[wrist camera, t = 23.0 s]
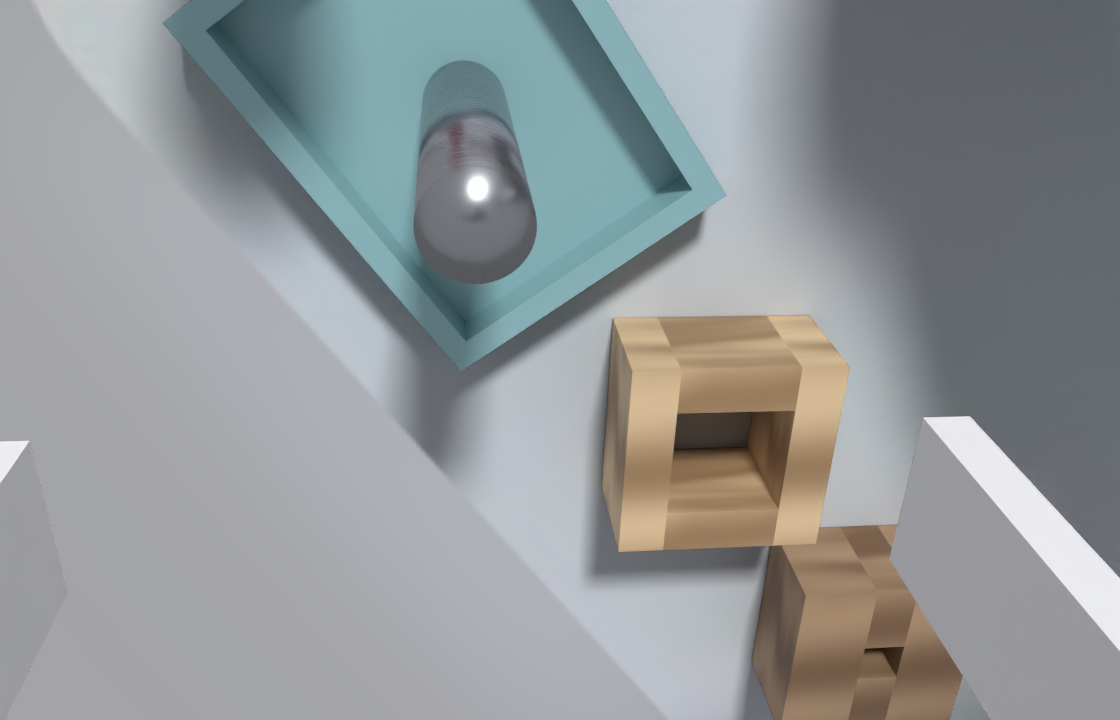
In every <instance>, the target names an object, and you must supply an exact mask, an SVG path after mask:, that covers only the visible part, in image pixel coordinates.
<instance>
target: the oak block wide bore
mask: <svg viewBox="0 0 1120 720" xmlns="http://www.w3.org/2000/svg"><path fill="white" fill-rule="evenodd" d="M849 370H850V366H849V365H848V364H847V363H846V361H845V360H844V359H843V357H842V356H841V355H840V354H839V352H838V351H837V350H836V349H835V347H834V346H833V345H832V343H831V342H830V341H829V340H828V338H827V337H826V336H825V334H824V333H823V332H822V331H821V329H820V328H819V327H818V326H817V324H816V323H815V322H814V320H813V319H812V318H811V317H810V315H801V316H730V317H658V318H613V327H612V342H611V357H610V372H609V387H608V403H607V418H606V433H605V448H604V464H603V479H602V489H603V493H604V497H605V501H606V505H607V509H608V513H609V516H610V520H611V524H612V528H613V532H614V536H615V540H616V544H617V548H618V552H629V551H654V550H678V549H703V548H727V547H752V546H777V545H801V544H816V541H817V536H818V531H819V525H820V520H821V515H822V510H823V505H824V499H825V494H826V489H827V484H828V479H829V474H830V468H831V463H832V458H833V453H834V448H835V442H836V437H837V432H838V427H839V422H840V417H841V411H842V406H843V401H844V396H845V391H846V386H847V380H848V375H849ZM721 412H753V414H752V420H751V427H750V434H749V441H748V448H714V449H680V450H674V440H675V431H676V421H677V414H681V413H721Z"/></svg>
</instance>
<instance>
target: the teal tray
mask: <svg viewBox="0 0 1120 720" xmlns="http://www.w3.org/2000/svg"><path fill="white" fill-rule="evenodd" d="M163 24H164V26H165V27H166V28H167V29H168V30H169V31H170V33H171V34H172V35H173V36H174V37H175V38H176V40H177V41H178V42H179V43H180V44H181V45H182V47H183V48H184V49H185V50H186V51H187V52H188V54H189V55H190V56H191V57H192V58H193V59H194V61H195V62H196V63H197V64H198V65H199V66H200V68H201V69H202V70H203V71H204V72H205V73H206V75H207V76H208V77H209V78H210V79H211V80H212V82H213V83H214V84H215V85H216V86H217V87H218V89H219V90H220V91H221V92H222V93H223V94H224V96H225V97H226V98H227V99H228V100H229V101H230V103H231V104H232V105H233V106H234V107H235V108H236V110H237V111H238V112H239V113H240V114H241V115H242V117H243V118H244V119H245V120H246V121H247V123H248V124H249V125H250V126H251V127H252V128H253V130H254V131H255V132H256V133H257V134H258V135H259V137H260V138H261V139H262V140H263V141H264V142H265V144H266V145H267V146H268V147H269V148H270V149H271V151H272V152H273V153H274V154H275V155H276V156H277V158H278V159H279V160H280V161H281V162H282V163H283V165H284V166H285V167H286V168H287V169H288V170H289V172H290V173H291V174H292V175H293V176H294V177H295V179H296V180H297V181H298V182H299V183H300V184H301V186H302V187H303V188H304V189H305V190H306V191H307V193H308V194H309V195H310V196H311V197H312V198H313V200H314V201H315V202H316V203H317V204H318V205H319V207H320V208H321V209H322V210H323V211H324V213H325V214H326V215H327V216H328V217H329V218H330V220H331V221H332V222H333V223H334V224H335V225H336V227H337V228H338V229H339V230H340V231H341V232H342V234H343V235H344V236H345V237H346V238H347V239H348V241H349V242H350V243H351V244H352V245H353V246H354V248H355V249H356V250H357V251H358V252H359V253H360V255H361V256H362V257H363V258H364V259H365V260H366V262H367V263H368V264H369V265H370V266H371V267H372V269H373V270H374V271H375V272H376V273H377V274H378V276H379V277H380V278H381V279H382V280H383V281H384V283H385V284H386V285H387V286H388V287H389V288H390V290H391V291H392V292H393V293H394V294H395V295H396V297H397V298H398V299H399V300H400V301H401V302H402V304H403V305H404V306H405V307H406V308H407V310H408V311H409V312H410V313H411V314H412V315H413V317H414V318H415V319H416V320H417V321H418V322H419V324H420V325H421V326H422V327H423V328H424V329H425V331H426V332H427V333H428V334H429V335H430V336H431V338H432V339H433V340H434V341H435V342H436V343H437V345H438V346H439V347H440V348H441V349H442V350H443V352H444V353H445V354H446V355H447V356H448V357H449V359H450V360H451V361H452V362H453V363H454V364H455V366H456V367H457V368H458V369H459V370H460V371H463V370H464V369H466V368H467V367H469V366H470V365H472V364H473V363H475V362H476V361H478V360H479V359H481V358H482V357H484V356H485V355H487V354H488V353H490V352H491V351H493V350H494V349H496V348H497V347H499V346H500V345H502V344H503V343H505V342H506V341H508V340H509V339H511V338H512V337H514V336H515V335H517V334H518V333H520V332H521V331H523V330H524V329H526V328H527V327H529V326H530V325H532V324H533V323H535V322H536V321H538V320H539V319H541V318H543V317H544V316H546V315H547V314H549V313H550V312H552V311H553V310H555V309H556V308H558V307H559V306H561V305H562V304H564V303H565V302H567V301H568V300H570V299H571V298H573V297H574V296H576V295H577V294H579V293H580V292H582V291H583V290H585V289H586V288H588V287H589V286H591V285H592V284H594V283H595V282H597V281H598V280H600V279H601V278H603V277H604V276H606V275H607V274H609V273H610V272H612V271H613V270H615V269H616V268H618V267H619V266H621V265H622V264H624V263H626V262H627V261H629V260H630V259H632V258H633V257H635V256H636V255H638V254H639V253H641V252H642V251H644V250H645V249H647V248H648V247H650V246H651V245H653V244H654V243H656V242H657V241H659V240H660V239H662V238H663V237H665V236H666V235H668V234H669V233H671V232H672V231H674V230H675V229H677V228H678V227H680V226H681V225H683V224H684V223H686V222H687V221H689V220H690V219H692V218H693V217H695V216H696V215H698V214H699V213H701V212H702V211H704V210H705V209H707V208H708V207H710V206H712V205H713V204H715V203H716V202H718V201H719V200H721V199H722V198H724V197H725V196H727V195H726V193H725V192H724V190H723V189H722V187H721V185H720V184H719V182H718V180H717V179H716V177H715V176H714V174H713V172H712V171H711V169H710V168H709V166H708V164H707V163H706V161H705V159H704V158H703V156H702V155H701V153H700V151H699V150H698V148H697V146H696V145H695V143H694V142H693V140H692V138H691V137H690V135H689V134H688V132H687V130H686V129H685V127H684V125H683V124H682V122H681V121H680V119H679V117H678V116H677V114H676V112H675V111H674V109H673V108H672V106H671V104H670V103H669V101H668V100H667V98H666V96H665V95H664V93H663V91H662V90H661V88H660V87H659V85H658V83H657V82H656V80H655V78H654V77H653V75H652V74H651V72H650V70H649V69H648V67H647V66H646V64H645V62H644V61H643V59H642V57H641V56H640V54H639V53H638V51H637V49H636V48H635V46H634V44H633V43H632V41H631V40H630V38H629V36H628V35H627V33H626V32H625V30H624V28H623V27H622V25H621V23H620V22H619V20H618V19H617V17H616V15H615V14H614V12H613V10H612V9H611V7H610V6H609V4H608V2H607V1H606V0H191V1H190V2H188V3H187V4H186V5H185V6H183V7H182V8H181V9H180V10H178V11H177V12H176V13H175V14H173V15H172V16H171V17H170V18H168V19H167V20H166V21H165V22H163ZM462 60H466V61H473V62H477V63H479V64H482V65H483V66H485V67H487V68H488V69H490V70H491V71H492V72H493V73H494V74H495V75H496V76H497V78H498V79H499V81H500V82H501V84H502V86H503V89H504V92H505V95H506V99H507V103H508V107H509V111H510V115H511V119H512V123H513V127H514V130H515V134H516V138H517V142H518V146H519V150H520V154H521V158H522V162H523V166H524V169H525V173H526V177H527V181H528V185H529V189H530V193H531V197H532V201H533V205H534V208H535V212H536V218H537V234H536V239H535V243H534V245H533V248H532V250H531V252H530V254H529V255H528V257H527V258H526V260H525V261H524V262H523V263H522V264H521V266H520V267H519V268H517V269H516V270H515V271H514V272H512V273H511V274H509V275H508V276H506V277H504V278H502V279H500V280H497V281H494V282H490V283H485V284H466V283H461V282H457V281H454V280H451V279H449V278H447V277H445V276H443V275H441V274H440V273H438V272H437V271H436V270H434V269H433V268H432V267H431V266H430V265H429V264H428V263H427V262H426V260H425V259H424V258H423V256H422V254H421V253H420V251H419V249H418V246H417V244H416V240H415V236H414V228H413V225H414V209H415V196H416V182H417V169H418V155H419V142H420V129H421V115H422V102H423V93H424V89H425V86H426V84H427V82H428V80H429V79H430V77H431V76H432V75H433V74H434V72H436V71H437V70H438V69H439V68H441V67H442V66H444V65H446V64H448V63H451V62H454V61H462Z"/></svg>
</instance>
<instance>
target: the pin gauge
mask: <svg viewBox="0 0 1120 720" xmlns="http://www.w3.org/2000/svg"><path fill="white" fill-rule="evenodd" d="M413 228H414V236H415V240H416V244H417V246H418V249H419V251H420V253H421V254H422V256H423V258H424V259H425V260H426V262H427V263H428V264H429V265H430V266H431V267H432V268H433V269H434V270H436V271H437V272H438V273H440V274H441V275H443V276H445V277H447V278H449V279H451V280H454V281H457V282H461V283H466V284H485V283H490V282H494V281H497V280H500V279H502V278H504V277H506V276H508V275H509V274H511V273H512V272H514V271H515V270H516V269H517V268H519V267H520V266H521V264H522V263H523V262H524V261H525V260H526V258H527V257H528V255H529V254H530V252H531V250H532V248H533V245H534V243H535V239H536V234H537V218H536V212H535V208H534V205H533V201H532V197H531V193H530V189H529V185H528V181H527V177H526V173H525V169H524V166H523V162H522V158H521V154H520V150H519V146H518V142H517V138H516V134H515V130H514V127H513V123H512V119H511V115H510V111H509V107H508V103H507V99H506V95H505V92H504V89H503V86H502V84H501V82H500V81H499V79H498V78H497V76H496V75H495V74H494V73H493V72H492V71H491V70H490V69H488V68H487V67H485V66H483V65H482V64H479V63H477V62H473V61H466V60H462V61H454V62H451V63H448V64H446V65H444V66H442V67H441V68H439V69H438V70H437V71H436V72H434V74H433V75H432V76H431V77H430V79H429V80H428V82H427V84H426V86H425V89H424V93H423V102H422V115H421V129H420V142H419V155H418V169H417V182H416V196H415V209H414V225H413Z"/></svg>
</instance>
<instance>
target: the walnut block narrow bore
mask: <svg viewBox="0 0 1120 720" xmlns="http://www.w3.org/2000/svg"><path fill="white" fill-rule="evenodd" d="M896 529H897V525H879V526H853V527H827V528H819V531H818V536H817V541H816V544H801V545H777V546H771V549H770V555H769V561H768V567H767V573H766V579H765V585H764V591H763V597H762V603H761V609H760V615H759V621H758V627H757V633H756V639H755V645H754V651H753V657H752V664H753V666H754V669H755V671H756V674H757V677H758V679H759V682H760V685H761V687H762V690H763V692H764V695H765V698H766V700H767V703H768V706H769V708H770V711H771V713H772V716H773V719H774V720H949V719H950V716H951V712H952V709H953V706H954V702H955V699H956V696H957V693H958V689H959V686H960V683H961V679H962V676H963V675H962V674H961V672H960V671H959V669H958V667H957V666H956V664H955V663H954V661H953V660H952V658H951V656H950V655H949V653H948V652H947V650H946V648H945V647H944V645H943V644H942V642H941V640H940V639H939V637H938V636H937V634H936V632H935V631H934V629H933V628H932V626H931V624H930V623H929V621H928V620H927V618H926V617H925V615H924V613H923V612H922V610H921V609H920V607H919V605H918V604H917V602H916V601H915V599H914V597H913V596H912V594H911V593H910V591H909V589H908V588H907V586H906V585H905V583H904V581H903V580H902V578H901V577H900V575H899V574H898V572H897V570H896V569H895V567H894V566H893V564H892V562H891V561H890V559H889V558H890V554H891V550H892V546H893V541H894V537H895V533H896Z"/></svg>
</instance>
